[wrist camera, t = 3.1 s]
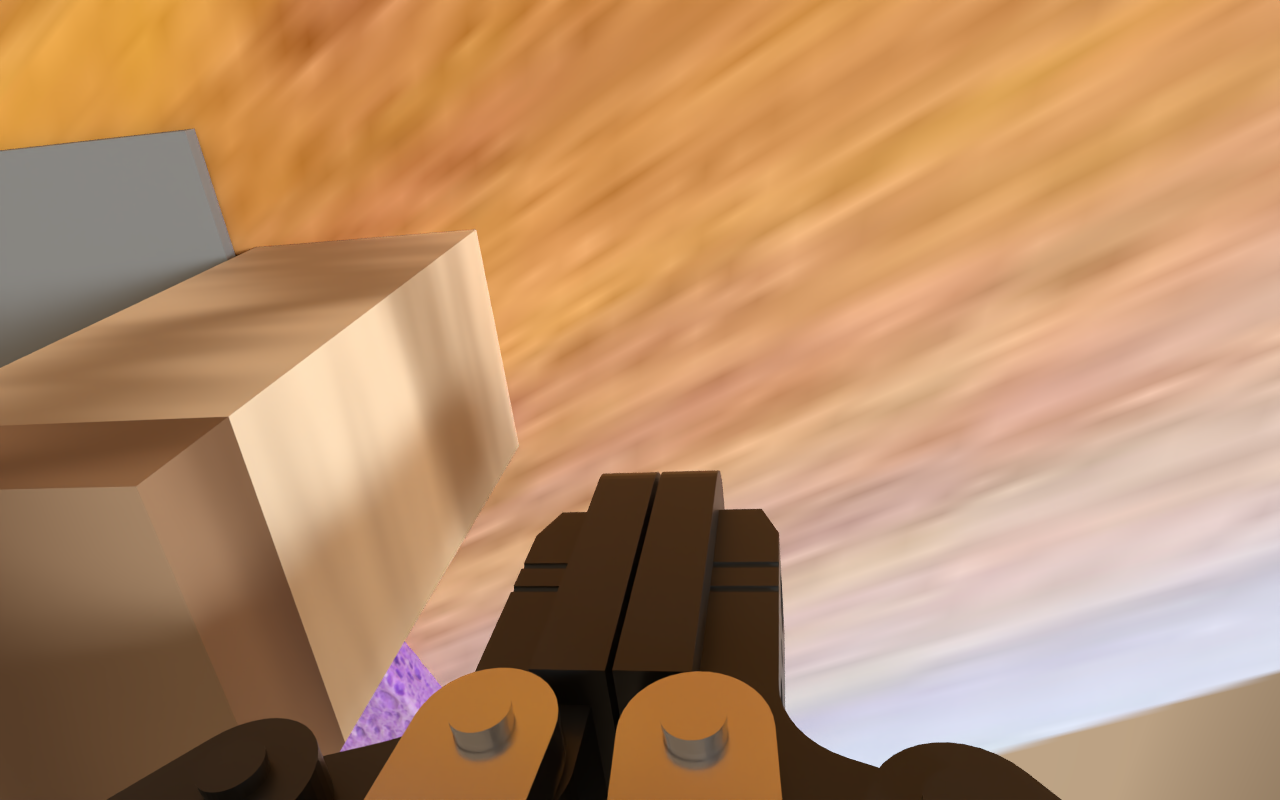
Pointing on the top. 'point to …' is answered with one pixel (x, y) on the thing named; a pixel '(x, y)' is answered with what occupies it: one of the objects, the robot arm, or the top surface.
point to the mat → (100, 231)
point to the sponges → (394, 701)
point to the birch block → (237, 502)
